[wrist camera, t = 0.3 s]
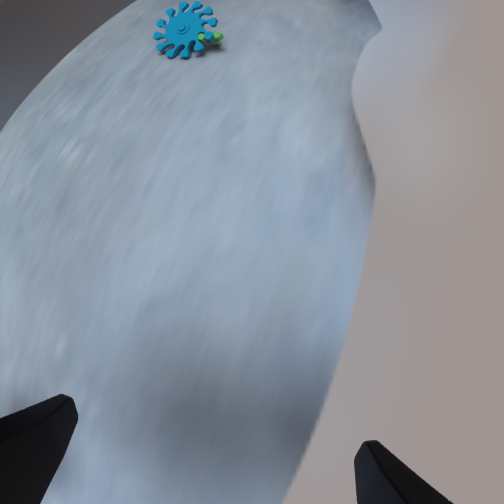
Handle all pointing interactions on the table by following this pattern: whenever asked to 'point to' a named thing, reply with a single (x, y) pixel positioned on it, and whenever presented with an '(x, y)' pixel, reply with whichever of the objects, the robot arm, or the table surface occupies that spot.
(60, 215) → the table surface
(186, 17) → the gear
